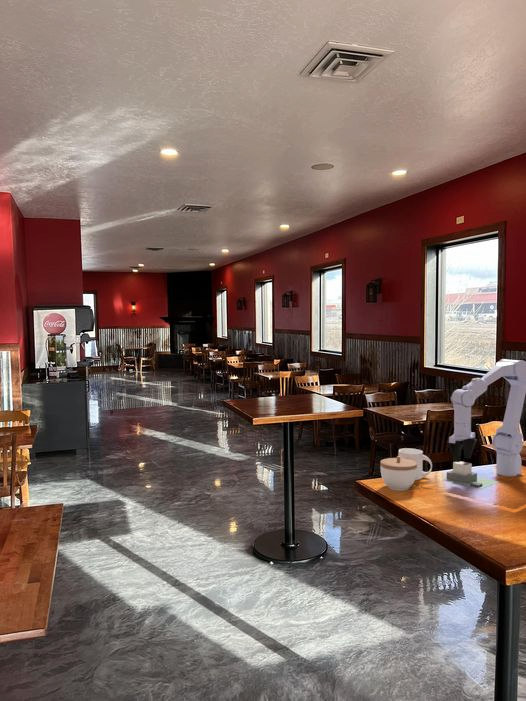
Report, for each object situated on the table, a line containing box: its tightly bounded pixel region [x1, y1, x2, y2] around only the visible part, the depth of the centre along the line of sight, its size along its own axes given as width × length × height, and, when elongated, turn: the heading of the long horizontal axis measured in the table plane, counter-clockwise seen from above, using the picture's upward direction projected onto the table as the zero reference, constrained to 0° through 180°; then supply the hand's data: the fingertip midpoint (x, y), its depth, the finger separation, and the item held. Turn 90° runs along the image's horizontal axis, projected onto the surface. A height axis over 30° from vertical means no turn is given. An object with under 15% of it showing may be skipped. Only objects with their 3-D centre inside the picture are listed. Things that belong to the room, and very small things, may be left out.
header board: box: [442, 469, 500, 490], centre depth 201 cm, size 13×15×4 cm
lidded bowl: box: [379, 455, 417, 492], centre depth 195 cm, size 13×13×11 cm
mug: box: [398, 447, 433, 481], centre depth 205 cm, size 9×12×11 cm
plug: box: [452, 460, 473, 476], centre depth 203 cm, size 8×5×6 cm, turn 130°
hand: (462, 459), depth 202 cm, fingers open, 7 cm apart
